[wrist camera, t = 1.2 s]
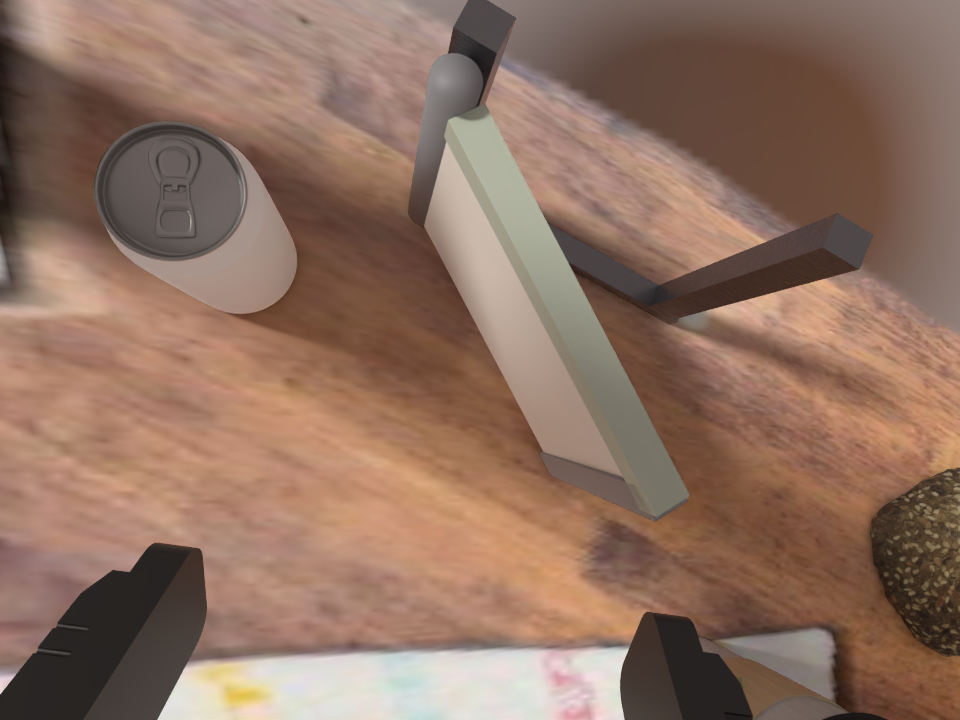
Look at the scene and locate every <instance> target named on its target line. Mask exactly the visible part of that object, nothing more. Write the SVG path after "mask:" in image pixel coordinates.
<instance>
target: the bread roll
mask: <svg viewBox="0 0 960 720" xmlns="http://www.w3.org/2000/svg"><path fill="white" fill-rule="evenodd" d="M870 535H871V539H872V545H873V555H874V565H875V566H876V567H877V568H878V570H879V575H880V578H881V580H882V583H883V585H884V587H885V594H886V597H887V599H888V600H889V602H890V603H891V604H892V605H893V606H894V607H895V609H896V610H897V612H898V613H900V614H901V616H902V618H903V620H904V622H905V624H906V625H907V627H908V628H909V629H910V630H911V631H912V633H913V635H914V637H915V638H916V639H918V640H919V641H920V642H921V643H923V644H924V645H926V646H927V647H929V648H931V649H933V650H935V651H936V652H938V653H939V654H941V655H943V656H946V657H950V656H952V655H953V656H960V468H955V469H948V470H946V471H944V472H942V473H939V474H937V475H935V476H933V477H931V478H928V479H925V480H923V481H921V482H920V483H919V484H917V485H916V486H915V487H913V488H912V489H911V490H909V491H908V492H907V493H906V494H904V495H902V496H900V497H899V498H897V499H896V500H894V501H892V502H890V503H889V504H887V505H885V506H884V507H882V508H881V510H880V511H879V512H878V513H877V514H876V515H875V516H874V518H873V520H872V530H871V532H870Z"/></svg>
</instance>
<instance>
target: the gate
mask: <svg viewBox="0 0 960 720" xmlns="http://www.w3.org/2000/svg"><path fill="white" fill-rule="evenodd" d="M482 87H483V77H482V73H481V71H480V69H479V67H478V66H477V64H476V63H475V62H474V61H473V60H471V59H470V58H469V57H467V56H465V55H462V54H457V53H450V54H446V55H443V56H441V57H439V58H438V59H437V60H436V61H435V62H434V63H433V65H432V67H431V69H430V73H429V79H428V85H427V92H426V98H425V104H424V111H423V117H422V123H421V129H420V136H419V142H418V148H417V155H416V161H415V167H414V174H413V180H412V186H411V193H410V199H409V205H408V213H409V216H410V218H411V219H412V220H413V221H414V222H415V223H417V224H419V225H422V226H424V227H425V229H426V231H427V233H428V235H429V236H430V238H431V240H432V242H433V244H434V246H435V248H436V250H437V252H438V254H439V255H440V257H441V259H442V261H443V263H444V265H445V267H446V269H447V271H448V272H449V274H450V276H451V278H452V280H453V282H454V284H455V286H456V288H457V289H458V291H459V293H460V295H461V297H462V299H463V301H464V303H465V305H466V306H467V308H468V310H469V312H470V314H471V316H472V318H473V320H474V322H475V323H476V325H477V327H478V329H479V331H480V333H481V335H482V337H483V339H484V340H485V342H486V344H487V346H488V348H489V350H490V352H491V354H492V356H493V357H494V359H495V361H496V363H497V365H498V367H499V369H500V371H501V373H502V374H503V376H504V378H505V380H506V382H507V384H508V386H509V388H510V390H511V391H512V393H513V395H514V397H515V399H516V401H517V403H518V405H519V407H520V408H521V410H522V412H523V414H524V416H525V418H526V420H527V422H528V424H529V425H530V427H531V429H532V431H533V433H534V435H535V437H536V439H537V441H538V443H539V444H540V446H541V448H542V450H543V451H541V452H539V455H540V456H541V458H542V460H543V462H544V464H545V466H546V468H547V470H548V472H549V473H550V475H551V476H553V477H555V478H558V479H560V480H562V481H564V482H567V483H569V484H571V485H573V486H576V487H578V488H580V489H582V490H585V491H587V492H589V493H592V494H594V495H596V496H598V497H601V498H603V499H605V500H607V501H610V502H612V503H614V504H616V505H619V506H621V507H623V508H626V509H628V510H630V511H632V512H635V513H637V514H639V515H641V516H644V517H646V518H648V519H650V520H653V521H655V522H656V521H657V520H659V519H661V518H662V517H664V516H665V515H667V514H668V513H670V512H672V511H673V510H675V509H676V508H678V507H679V506H681V505H683V504H684V503H686V502H687V501H688V499H687V498H688V497H689V496H690V494H689V493H688V491H687V489H686V487H685V485H684V483H683V481H682V479H681V477H680V475H679V473H678V472H677V470H676V468H675V466H674V464H673V462H672V460H671V458H670V456H669V454H668V452H667V450H666V449H665V447H664V445H663V443H662V441H661V439H660V437H659V435H658V433H657V431H656V429H655V428H654V426H653V424H652V422H651V420H650V418H649V416H648V414H647V412H646V410H645V408H644V407H643V405H642V403H641V401H640V399H639V397H638V395H637V393H636V391H635V389H634V387H633V386H632V384H631V382H630V380H629V378H628V376H627V374H626V372H625V370H624V368H623V366H622V365H621V363H620V361H619V359H618V357H617V355H616V353H615V351H614V349H613V347H612V345H611V344H610V342H609V340H608V338H607V336H606V334H605V332H604V330H603V328H602V326H601V324H600V323H599V321H598V319H597V317H596V315H595V313H594V311H593V309H592V307H591V305H590V303H589V302H588V300H587V298H586V296H585V294H584V292H583V290H582V288H581V286H580V284H579V282H578V281H577V279H576V277H575V275H574V273H573V271H572V269H571V267H570V265H569V263H568V261H567V260H566V258H565V256H564V254H563V252H562V250H561V248H560V246H559V244H558V242H557V240H556V238H555V237H554V235H553V233H552V231H551V229H550V227H549V225H548V223H547V221H546V219H545V217H544V216H543V214H542V212H541V210H540V208H539V206H538V204H537V202H536V200H535V198H534V196H533V195H532V193H531V191H530V189H529V187H528V185H527V183H526V181H525V179H524V177H523V175H522V174H521V172H520V170H519V168H518V166H517V164H516V162H515V160H514V158H513V156H512V154H511V153H510V151H509V149H508V147H507V145H506V143H505V141H504V139H503V137H502V135H501V133H500V132H499V130H498V128H497V126H496V124H495V122H494V120H493V118H492V116H491V114H490V112H489V111H488V109H487V107H486V105H485V104H483V105H481V106H478V107H476V106H477V103H478V100H479V97H480V94H481V91H482Z"/></svg>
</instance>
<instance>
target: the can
mask: <svg viewBox="0 0 960 720" xmlns="http://www.w3.org/2000/svg"><path fill="white" fill-rule="evenodd" d="M94 199H95V204H96V208H97V211H98V213H99V216H100V218H101V220H102V222H103V223H104V225H105V227H106V229H107V231H108V233H109V235H110V237H111V238H112V240H113V242H114V243H115V244H116V246H117V247H118V248H119V249H120V251H121V252H122V253H123V254H124V255H125V256H126V257H128V258H129V259H130V260H131V261H132V262H134V263H135V264H136V265H138V266H139V267H141V268H142V269H144V270H145V271H147V272H149V273H151V274H152V275H154V276H156V277H157V278H159V279H161V280H163V281H165V282H166V283H168V284H170V285H172V286H174V287H175V288H177V289H179V290H181V291H183V292H184V293H186V294H188V295H190V296H192V297H194V298H195V299H197V300H199V301H201V302H203V303H205V304H207V305H209V306H211V307H213V308H215V309H217V310H220V311H224V312H228V313H234V314H247V313H253V312H257V311H260V310H263V309H265V308H268V307H269V306H271V305H273V304H274V303H276V302H277V301H278V300H279V299H280V298H282V297H283V295H284V294H285V293H286V292H287V291H288V289H289V288H290V286H291V284H292V282H293V280H294V277H295V274H296V269H297V253H296V248H295V245H294V242H293V239H292V237H291V235H290V233H289V231H288V229H287V227H286V225H285V223H284V221H283V219H282V217H281V216H280V214H279V212H278V210H277V208H276V206H275V204H274V202H273V200H272V199H271V197H270V195H269V193H268V191H267V189H266V188H265V186H264V184H263V182H262V180H261V179H260V177H259V175H258V174H257V172H256V170H255V169H254V167H253V166H252V165H251V163H250V162H249V161H248V160H247V159H246V157H245V156H244V155H243V154H242V153H241V152H240V151H238V150H237V149H236V148H235V147H234V146H232V145H231V144H229V143H228V142H226V141H224V140H223V139H221V138H219V137H217V136H215V135H214V134H212V133H211V132H209V131H207V130H205V129H203V128H201V127H198V126H195V125H192V124H188V123H183V122H176V121H160V122H153V123H148V124H145V125H142V126H139V127H136V128H134V129H132V130H130V131H128V132H127V133H125V134H123V135H122V136H121V137H119V138H118V139H117V140H116V141H115V142H114V143H113V144H112V145H111V146H110V147H109V148H108V149H107V151H106V152H105V153H104V155H103V157H102V158H101V160H100V162H99V165H98V167H97V170H96V174H95V179H94Z"/></svg>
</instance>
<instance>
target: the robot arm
mask: <svg viewBox="0 0 960 720" xmlns="http://www.w3.org/2000/svg"><path fill="white" fill-rule="evenodd" d="M206 612H207V601H206V590H205V578H204V567H203V556H202V552H201V550H200V549H199V548H192V547H185V546H178V545H170V544H163V543H154V544H152V545H151V546H149V547H148V548H147V550H146V551H145V552H144V553H143V555H142V556H141V558H140V559H139V560H138V562H137V563H136V564H135V566H134V567H133V568H132V570H131V571H130V572H124V571H116V570H112V571H111V572H110V573H108V574H107V575H106V576H104V577H103V578H101V579H100V580H99V581H97V582H96V583H94V584H93V585H92V586H90V587H89V588H87V589H86V590H85V591H83V592H82V593H81V594H80V595H79V596H78V598H77V599H76V600H75V601H74V603H73V604H72V605H71V606H70V608H69V609H68V610H67V611H66V613H65V614H64V615H63V616H62V618H61V619H60V620H59V621H58V625H57V627H56V628H53V629H52V630H51V632H50V633H49V634H48V635H47V637H46V638H45V639H44V640H43V642H42V643H41V644H40V645H39V647H38V651H37V652H36V653H33V654H32V655H31V657H30V658H29V659H28V660H27V662H26V663H25V664H24V665H23V667H22V668H21V669H20V671H19V672H18V673H17V674H16V676H15V677H14V678H13V679H12V681H11V682H10V683H9V684H8V686H7V687H6V688H5V689H4V691H3V692H2V693H1V694H0V720H157V719H158V717H159V715H160V713H161V711H162V710H163V708H164V706H165V704H166V702H167V700H168V698H169V696H170V694H171V692H172V691H173V689H174V687H175V685H176V683H177V681H178V679H179V677H180V675H181V673H182V671H183V670H184V668H185V666H186V664H187V662H188V660H189V658H190V656H191V654H192V652H193V651H194V649H195V647H196V645H197V643H198V641H199V638H200V636H201V633H202V630H203V627H204V623H205V618H206ZM620 693H621V702H622V708H623V713H624V718H625V720H753V714H752V712H751V709H750V707H749V704H748V701H747V699H746V696H745V694H744V691H743V688H742V686H741V683H740V682H739V681H738V679H737V678H736V677H735V675H734V674H733V673H732V671H731V670H730V669H729V667H728V666H727V665H726V663H725V662H724V661H723V659H722V658H721V657H720V655H719V654H716V653H708V652H703V649H702V646H701V643H700V640H699V637H698V635H697V632H696V629H695V626H694V624H693V622H692V621H691V620H690V619H689V618H687V617H681V616H674V615H667V614H660V613H652V612H646V613H645V614H644V615H643V617H642V619H641V621H640V624H639V626H638V629H637V631H636V634H635V636H634V638H633V641H632V643H631V646H630V648H629V650H628V653H627V655H626V658H625V660H624V663H623V666H622V671H621V679H620Z"/></svg>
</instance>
